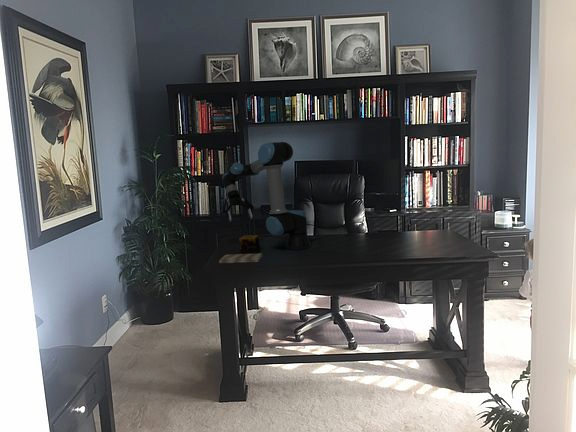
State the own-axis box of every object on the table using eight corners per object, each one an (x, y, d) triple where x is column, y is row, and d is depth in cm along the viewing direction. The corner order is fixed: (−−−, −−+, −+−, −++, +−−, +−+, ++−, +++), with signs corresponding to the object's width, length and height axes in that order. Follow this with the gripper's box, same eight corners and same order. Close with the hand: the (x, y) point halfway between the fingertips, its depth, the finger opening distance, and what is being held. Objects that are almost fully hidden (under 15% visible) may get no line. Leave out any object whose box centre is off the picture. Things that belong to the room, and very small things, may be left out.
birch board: (262, 255, 289) (262, 253, 289) (257, 261, 275) (257, 259, 275) (225, 257, 292) (225, 254, 292) (219, 263, 278) (219, 260, 278)
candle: (256, 254, 293) (255, 238, 291) (240, 255, 295) (238, 238, 294) (260, 250, 303) (259, 234, 301) (244, 251, 305) (243, 235, 303)
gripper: (250, 195, 327) (259, 220, 315) (213, 199, 317) (221, 225, 306) (252, 187, 321) (261, 213, 309) (214, 191, 312) (222, 218, 300)
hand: (241, 219), depth 308 cm, fingers open, 13 cm apart
